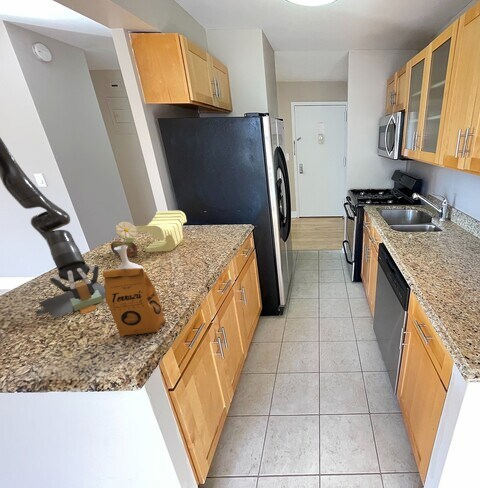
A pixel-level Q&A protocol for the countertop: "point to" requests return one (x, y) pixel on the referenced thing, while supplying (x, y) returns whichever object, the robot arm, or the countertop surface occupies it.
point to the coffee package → (133, 301)
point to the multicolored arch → (130, 249)
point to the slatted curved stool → (165, 230)
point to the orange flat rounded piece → (88, 309)
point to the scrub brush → (85, 297)
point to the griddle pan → (64, 302)
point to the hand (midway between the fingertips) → (86, 296)
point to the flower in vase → (126, 232)
